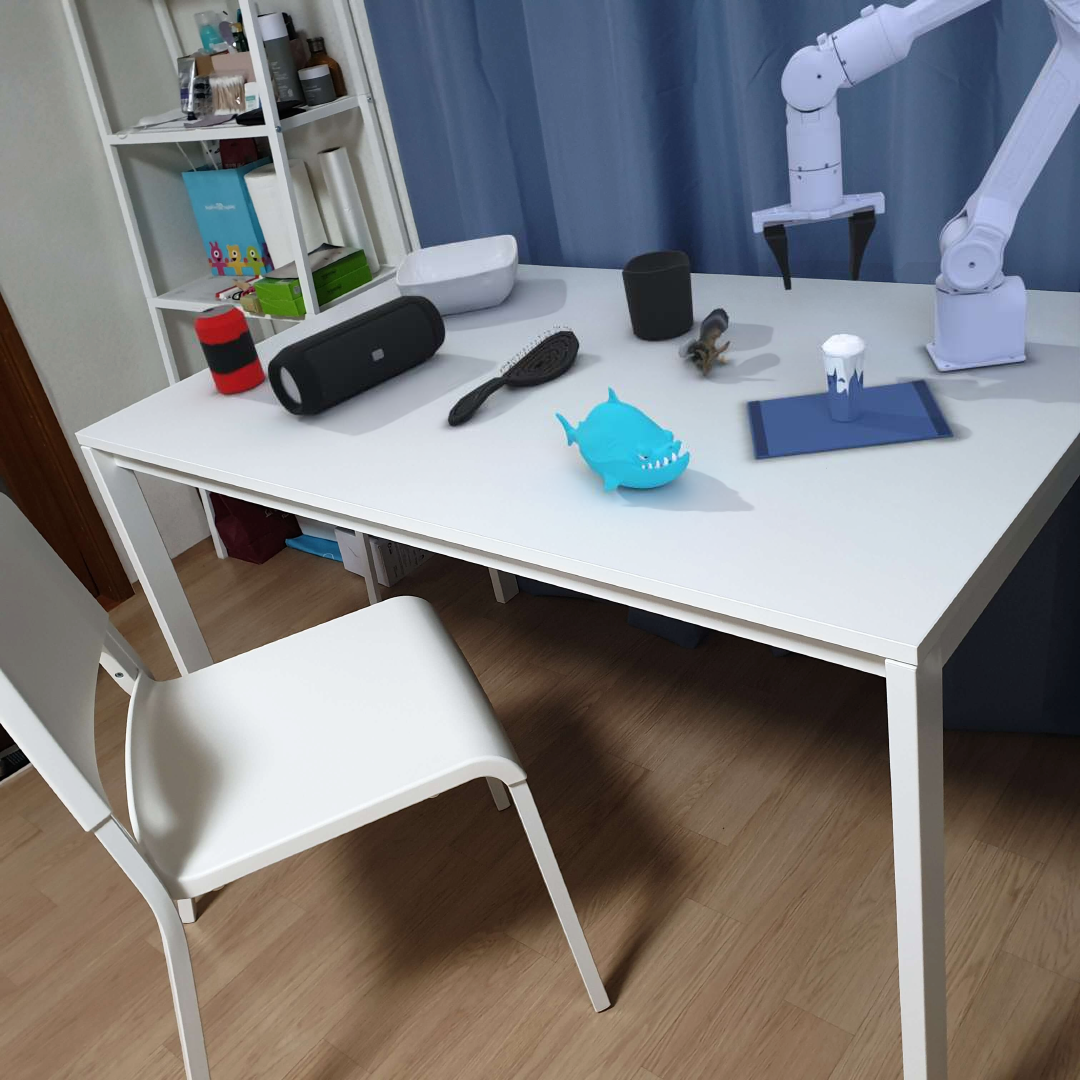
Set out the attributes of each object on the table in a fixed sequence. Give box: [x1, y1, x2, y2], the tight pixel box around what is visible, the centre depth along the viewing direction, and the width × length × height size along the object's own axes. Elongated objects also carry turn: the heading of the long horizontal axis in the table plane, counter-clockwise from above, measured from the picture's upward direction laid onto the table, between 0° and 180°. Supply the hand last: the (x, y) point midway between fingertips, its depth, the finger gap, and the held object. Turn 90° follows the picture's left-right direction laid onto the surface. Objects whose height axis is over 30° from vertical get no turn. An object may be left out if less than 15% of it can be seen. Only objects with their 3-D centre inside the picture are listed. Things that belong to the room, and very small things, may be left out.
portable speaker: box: [267, 295, 446, 416], centre depth 150 cm, size 26×10×10 cm, turn 134°
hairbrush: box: [447, 325, 580, 427], centre depth 140 cm, size 8×4×25 cm
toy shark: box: [555, 386, 691, 492], centre depth 110 cm, size 10×18×11 cm, turn 45°
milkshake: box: [814, 333, 867, 422], centre depth 112 cm, size 4×5×10 cm
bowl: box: [395, 234, 519, 317], centre depth 177 cm, size 20×20×8 cm
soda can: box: [193, 303, 266, 395], centre depth 160 cm, size 8×8×12 cm
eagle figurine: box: [677, 308, 731, 377], centre depth 134 cm, size 8×7×9 cm
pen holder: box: [621, 250, 694, 342], centre depth 147 cm, size 9×9×10 cm
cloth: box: [746, 379, 954, 460], centre depth 115 cm, size 20×14×1 cm
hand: (820, 282), depth 123 cm, fingers open, 7 cm apart
